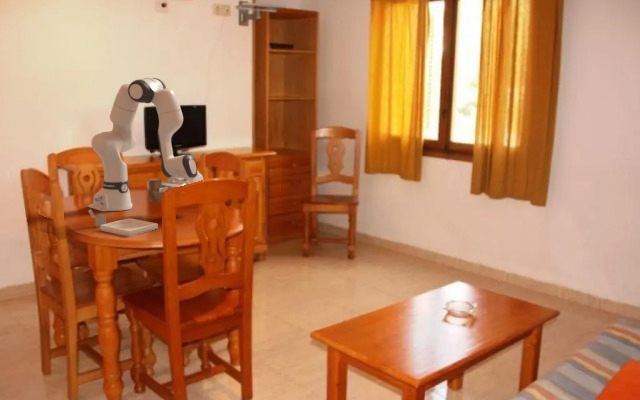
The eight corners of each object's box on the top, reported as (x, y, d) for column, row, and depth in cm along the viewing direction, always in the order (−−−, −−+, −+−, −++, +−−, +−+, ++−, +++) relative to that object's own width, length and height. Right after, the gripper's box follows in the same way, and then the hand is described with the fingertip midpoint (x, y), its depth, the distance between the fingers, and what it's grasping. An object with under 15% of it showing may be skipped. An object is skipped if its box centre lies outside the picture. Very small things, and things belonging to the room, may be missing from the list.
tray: (100, 230, 259) (100, 225, 258) (129, 223, 272) (129, 218, 272) (129, 236, 250) (129, 231, 249) (158, 229, 263) (157, 223, 263)
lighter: (105, 225, 268) (104, 207, 266) (106, 225, 267) (105, 208, 265) (88, 226, 264) (87, 209, 263) (89, 227, 263) (88, 210, 261)
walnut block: (149, 201, 272) (148, 179, 270) (155, 200, 275) (155, 178, 273) (155, 202, 270) (155, 180, 268) (162, 201, 273) (161, 179, 271)
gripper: (159, 176, 287) (137, 180, 275) (191, 181, 277) (170, 185, 265) (160, 189, 288) (138, 193, 276) (191, 194, 278) (170, 199, 266)
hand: (154, 189), depth 271 cm, fingers closed on walnut block, 4 cm apart
